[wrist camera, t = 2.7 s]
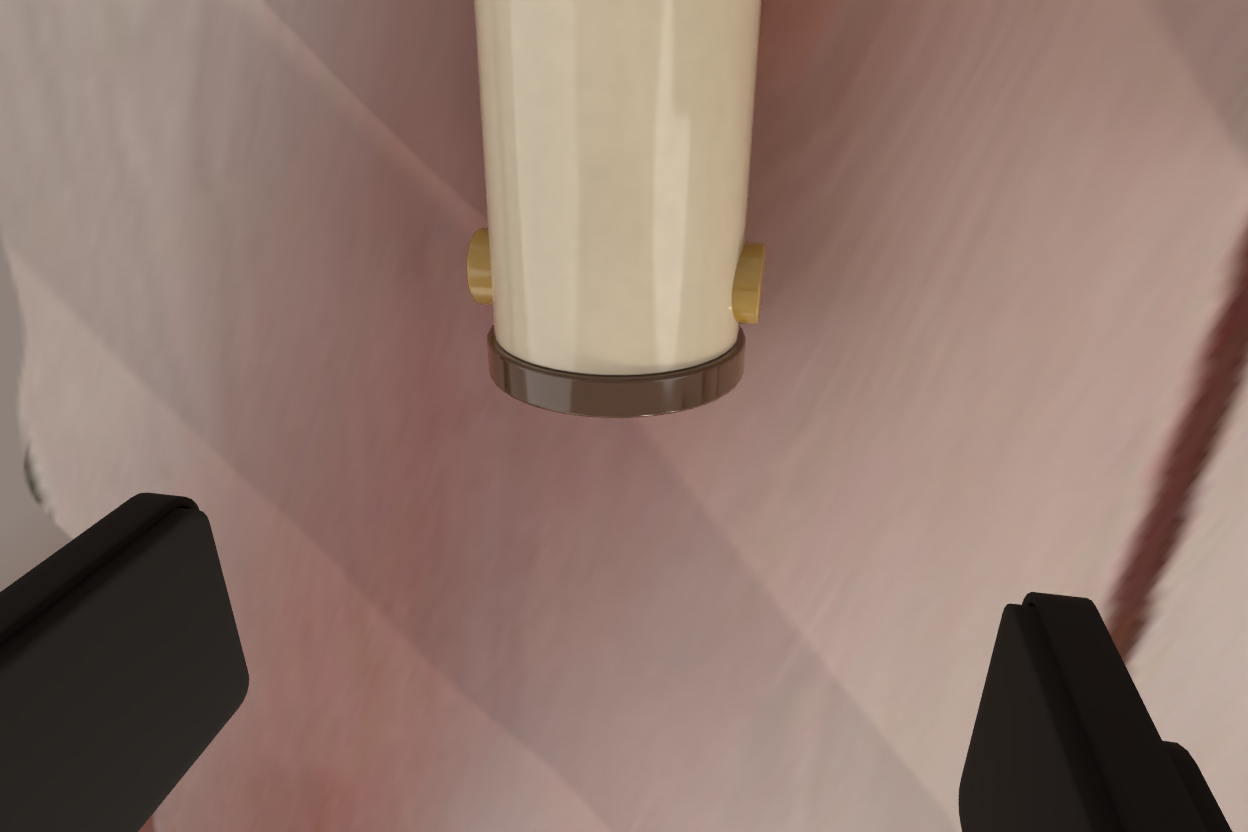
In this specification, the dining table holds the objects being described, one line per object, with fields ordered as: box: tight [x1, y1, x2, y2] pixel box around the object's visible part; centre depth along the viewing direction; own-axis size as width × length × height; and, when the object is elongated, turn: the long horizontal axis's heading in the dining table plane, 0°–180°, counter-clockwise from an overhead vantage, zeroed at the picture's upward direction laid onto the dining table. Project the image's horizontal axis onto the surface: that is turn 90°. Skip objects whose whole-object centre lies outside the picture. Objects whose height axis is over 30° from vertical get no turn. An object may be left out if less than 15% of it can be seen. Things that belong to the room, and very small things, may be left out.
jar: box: [467, 0, 766, 418], centre depth 20 cm, size 7×7×11 cm
